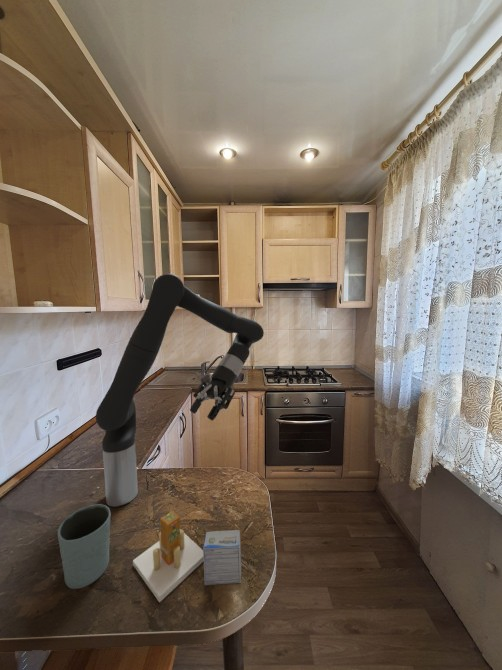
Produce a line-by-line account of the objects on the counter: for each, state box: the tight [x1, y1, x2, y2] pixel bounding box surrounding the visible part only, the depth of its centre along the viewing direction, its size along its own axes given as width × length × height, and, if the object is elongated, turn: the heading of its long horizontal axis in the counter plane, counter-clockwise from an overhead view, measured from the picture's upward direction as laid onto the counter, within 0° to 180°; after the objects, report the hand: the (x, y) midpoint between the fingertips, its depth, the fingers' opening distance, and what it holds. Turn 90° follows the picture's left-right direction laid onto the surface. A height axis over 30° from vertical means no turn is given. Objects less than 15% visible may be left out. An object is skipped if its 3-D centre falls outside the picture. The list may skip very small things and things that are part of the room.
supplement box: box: [159, 510, 181, 565], centre depth 58 cm, size 3×3×10 cm
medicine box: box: [202, 529, 242, 586], centre depth 55 cm, size 8×4×9 cm, turn 92°
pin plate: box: [132, 528, 204, 603], centre depth 58 cm, size 12×12×5 cm
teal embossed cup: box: [57, 503, 112, 590], centre depth 57 cm, size 10×10×12 cm
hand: (200, 415), depth 74 cm, fingers open, 8 cm apart
